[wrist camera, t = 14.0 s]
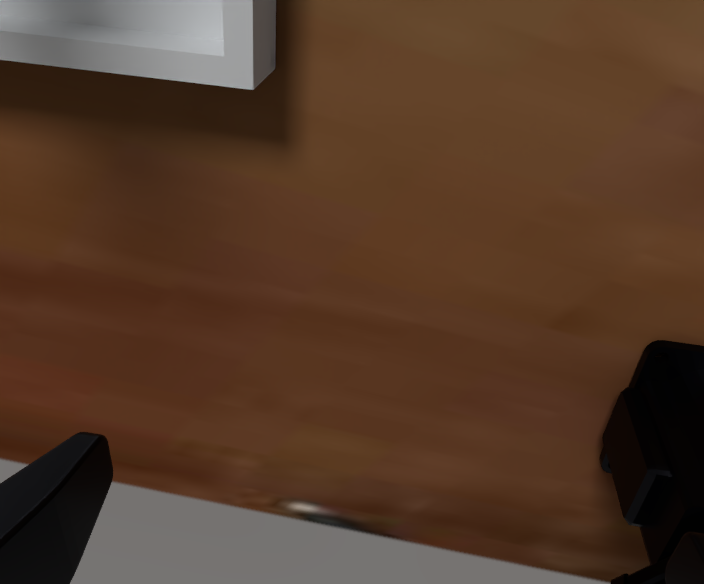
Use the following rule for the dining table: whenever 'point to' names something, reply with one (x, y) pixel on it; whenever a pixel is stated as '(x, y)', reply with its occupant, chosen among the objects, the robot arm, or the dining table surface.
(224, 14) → the tray
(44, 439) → the dining table surface
